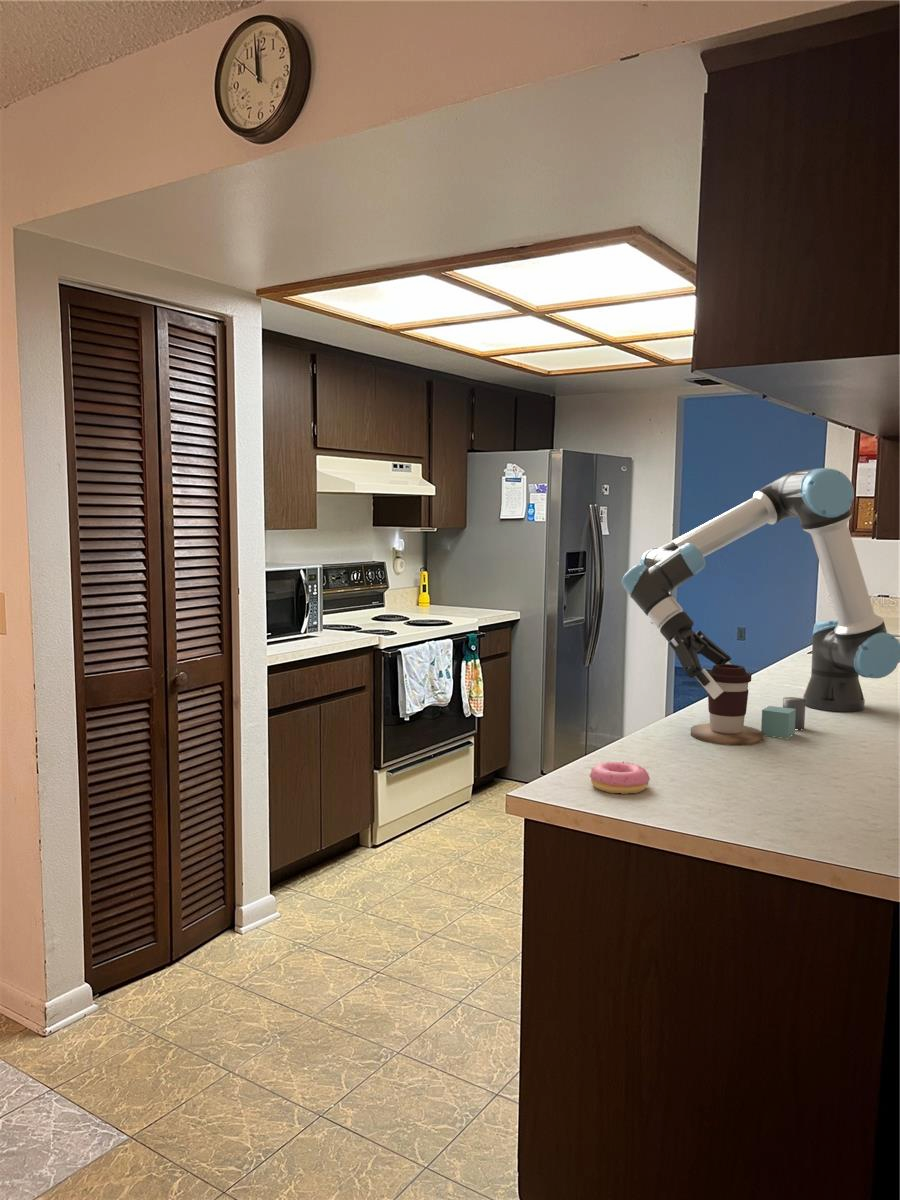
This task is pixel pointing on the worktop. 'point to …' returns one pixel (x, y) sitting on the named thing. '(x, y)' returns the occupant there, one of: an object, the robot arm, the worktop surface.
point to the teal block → (778, 721)
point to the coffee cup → (729, 698)
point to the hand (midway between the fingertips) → (730, 691)
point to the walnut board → (727, 735)
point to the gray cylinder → (800, 710)
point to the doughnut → (619, 777)
